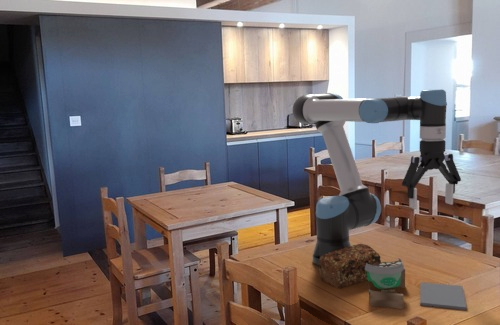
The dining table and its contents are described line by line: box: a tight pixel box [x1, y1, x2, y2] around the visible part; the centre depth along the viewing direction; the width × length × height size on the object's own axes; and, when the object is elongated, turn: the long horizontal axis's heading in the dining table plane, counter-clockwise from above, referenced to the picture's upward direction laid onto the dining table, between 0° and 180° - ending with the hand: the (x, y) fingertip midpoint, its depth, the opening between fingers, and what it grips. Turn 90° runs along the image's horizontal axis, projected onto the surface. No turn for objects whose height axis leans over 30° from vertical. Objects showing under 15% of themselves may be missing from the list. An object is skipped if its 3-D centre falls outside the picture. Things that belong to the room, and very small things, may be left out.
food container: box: [365, 257, 405, 295], centre depth 138 cm, size 12×6×10 cm, turn 105°
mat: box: [419, 281, 468, 311], centre depth 136 cm, size 12×15×1 cm
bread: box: [318, 243, 382, 289], centre depth 153 cm, size 19×11×10 cm, turn 117°
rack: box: [369, 267, 406, 310], centre depth 138 cm, size 9×16×6 cm, turn 160°
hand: (431, 206), depth 147 cm, fingers open, 13 cm apart
